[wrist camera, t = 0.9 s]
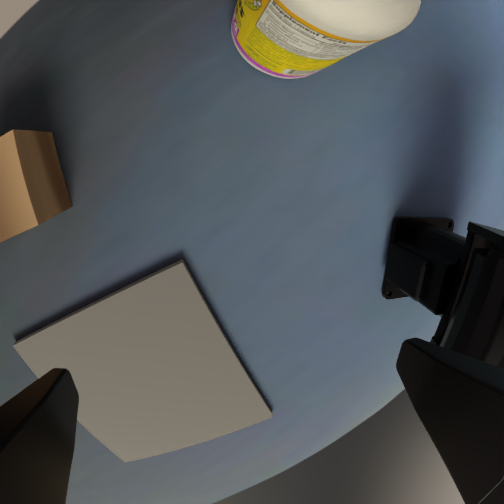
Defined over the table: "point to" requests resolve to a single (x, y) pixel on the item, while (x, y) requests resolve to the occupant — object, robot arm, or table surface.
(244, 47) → the supplement bottle
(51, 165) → the light brown cube
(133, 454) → the mat
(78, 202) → the table surface
